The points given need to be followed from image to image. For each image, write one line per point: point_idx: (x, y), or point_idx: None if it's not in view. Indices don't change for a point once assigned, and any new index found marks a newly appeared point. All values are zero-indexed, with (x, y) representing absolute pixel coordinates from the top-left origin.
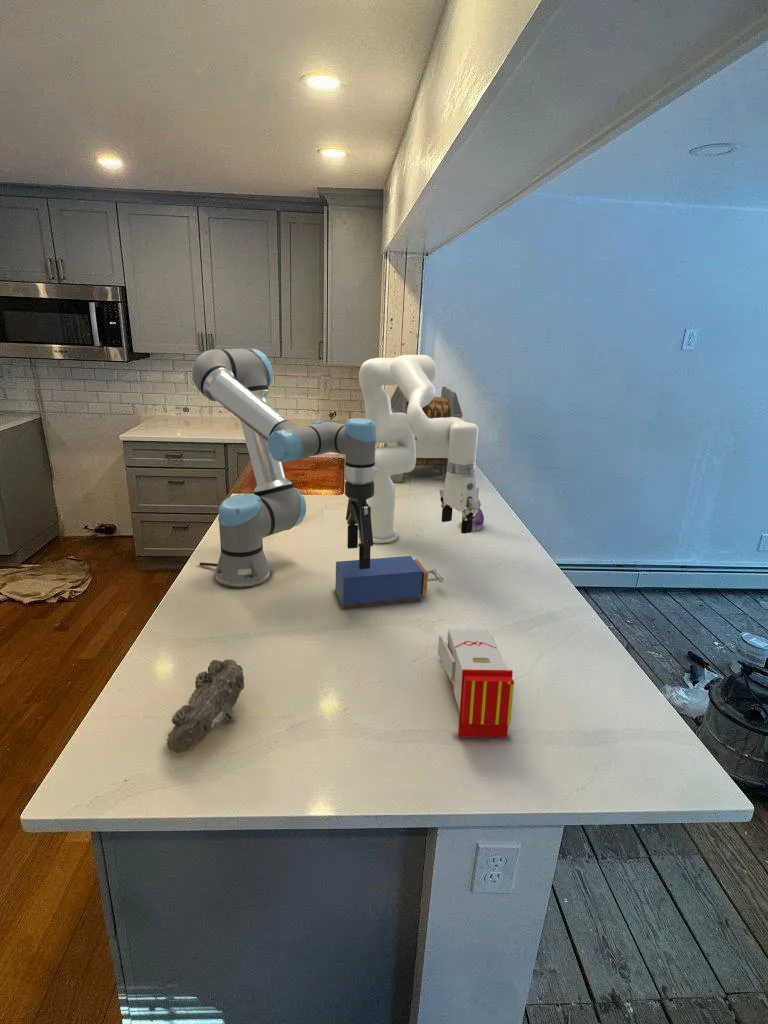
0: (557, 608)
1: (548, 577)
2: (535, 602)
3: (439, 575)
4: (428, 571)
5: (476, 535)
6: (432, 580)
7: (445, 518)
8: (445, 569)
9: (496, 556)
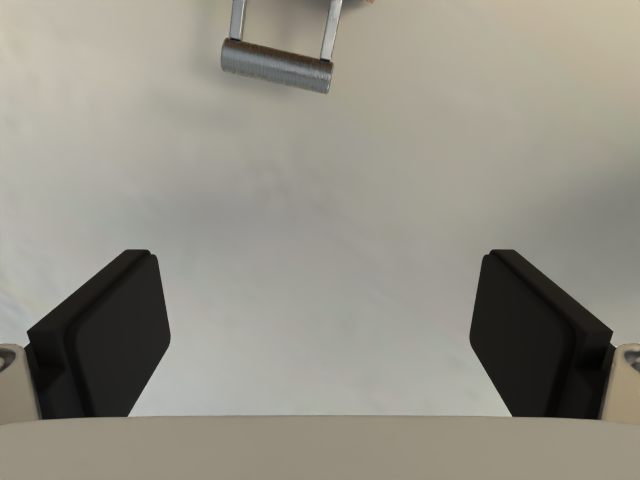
0: None
1: None
2: None
3: (243, 56)
4: (326, 37)
5: None
6: (234, 3)
7: (496, 294)
8: (430, 218)
9: None
